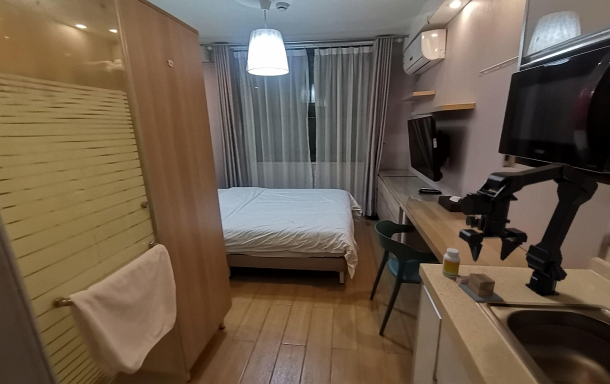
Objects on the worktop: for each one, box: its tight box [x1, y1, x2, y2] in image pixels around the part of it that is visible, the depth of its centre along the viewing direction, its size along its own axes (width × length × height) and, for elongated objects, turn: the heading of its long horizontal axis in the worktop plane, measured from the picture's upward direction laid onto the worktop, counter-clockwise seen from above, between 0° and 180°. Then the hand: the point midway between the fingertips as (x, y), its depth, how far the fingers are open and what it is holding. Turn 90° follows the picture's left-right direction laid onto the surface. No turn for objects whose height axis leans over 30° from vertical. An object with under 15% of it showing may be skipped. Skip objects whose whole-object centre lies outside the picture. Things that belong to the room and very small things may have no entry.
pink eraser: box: [455, 275, 470, 284], centre depth 97 cm, size 5×2×2 cm, turn 102°
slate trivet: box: [457, 283, 504, 303], centre depth 91 cm, size 9×9×1 cm
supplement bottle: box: [441, 247, 461, 279], centre depth 101 cm, size 5×5×10 cm
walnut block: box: [468, 272, 496, 296], centre depth 90 cm, size 5×5×5 cm
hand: (488, 260), depth 88 cm, fingers open, 9 cm apart
